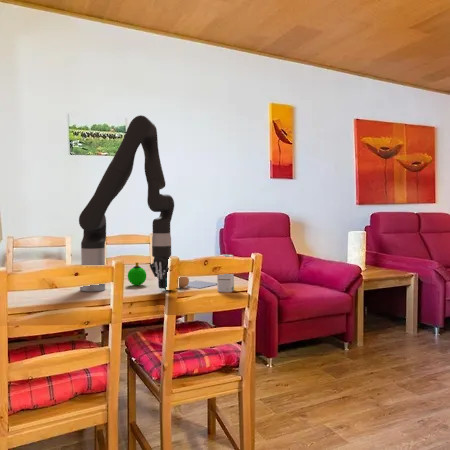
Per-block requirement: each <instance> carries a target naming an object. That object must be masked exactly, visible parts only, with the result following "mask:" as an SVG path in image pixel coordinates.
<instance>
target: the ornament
mask: <svg viewBox="0 0 450 450" xmlns="http://www.w3.org/2000/svg"><path fill="white" fill-rule="evenodd" d="M127 280H128V281H129V283H131V285H133V286H136V287H137V286H141V285H143V284H144V283H145V281H146V280H147V271H145V269H144V268H143V267H141V266H140V265H139V262H135V266H133V267H131V268H130V270H129V271H128V273H127Z"/></svg>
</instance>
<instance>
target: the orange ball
mask: <svg viewBox="0 0 450 450" xmlns="http://www.w3.org/2000/svg"><path fill="white" fill-rule="evenodd" d="M189 282H190V279H189V276H187V277H180V278H179V287H178V288H180V289H183V288H187V287H186V286H187V285H188V284H189Z"/></svg>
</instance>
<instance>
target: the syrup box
mask: <svg viewBox="0 0 450 450" xmlns="http://www.w3.org/2000/svg"><path fill="white" fill-rule="evenodd" d="M219 256H225V257H233V258H234V254H220V255H219ZM234 279H235V273H234V274H224V275H217V283H218V285H217V292H219V293H232V292H233V291H234V290H235V280H234Z"/></svg>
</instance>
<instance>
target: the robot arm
mask: <svg viewBox="0 0 450 450" xmlns="http://www.w3.org/2000/svg"><path fill="white" fill-rule="evenodd" d="M158 140H159V139H158V131H157V127H156V125H155V123H153V121H151V120H150V119H149V118H148V117H147V116H145V115H142V114H141V115H140V114H139V115H137V116H135V117H134V118H133V119H132V120H131V121H130V123H129V124H128V127H127V129H126V132H125V133H124V136H123V138H122V140H121V143H120V144H119V147H118V148H117V151H116V152H115V154H114V156H113V158H112V160H111V161H110V163H109V165H108V166H107V169H105V171H104V173H103V176H102V177H101V179H100V181H99V184H98V185H97V187H96V190H95V192H94V193H93V195H92V197H91V199H90V200H89V201H88V203H87V204H86V206H85V207H84V209H83V210H82V211H81V213H79V217H78V224H79V227H80V228H81V229H82V230H83V236H82V239H81V243H80V251H81V252H80V255H81V258H80V260H81V261H80V262H81V263H80V266H81V265H105V266H106V240H107V217H106V215H105V214H106V212H107V211H108V209H109V206H110V205H111V203H112V202H113V201H114V199H115V198H116V197H117V196H118V195H119V193H120V192H121V191H122V190H123V189H124V187H125V185H126V184H127V182H128V180H129V179H130V177H131V174H132V171H133V168H134V164H135V163H134V162H135V158H136V153H137V151H138V149H139V148H140V146H141V147H142V150H143V154H144V175H145V180H146V183H147V205H148V208H149V210H150V211H152V212H154V213H159V217H157V218H154V219H153V220H152V235H151V236H152V237H151V256H152V257H153V259H152V260H153V262H152V263H149V268H150V270H151V272H152V274H153V276H154V278H157V280H158V289H161V290H163V289H164V288H165V287H166V278H167V272H168V259H169V257H171V256H172V236H171V235H172V234H171V221H172V218H173V214H174V211H175V201H174V198H173V196H172V195H170V194H166V193H165V194H164V193H163V194H162V193H160V190H162V189H165V188H166V180H165V175H164V171H163V168H162V163H161V158H160V152H159V151H160V150H159V141H158ZM105 290H106V283H105V284H99V285H90V286H83V287H80V286H79V291H80V292H91V293H92V292H101V291H105Z"/></svg>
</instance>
